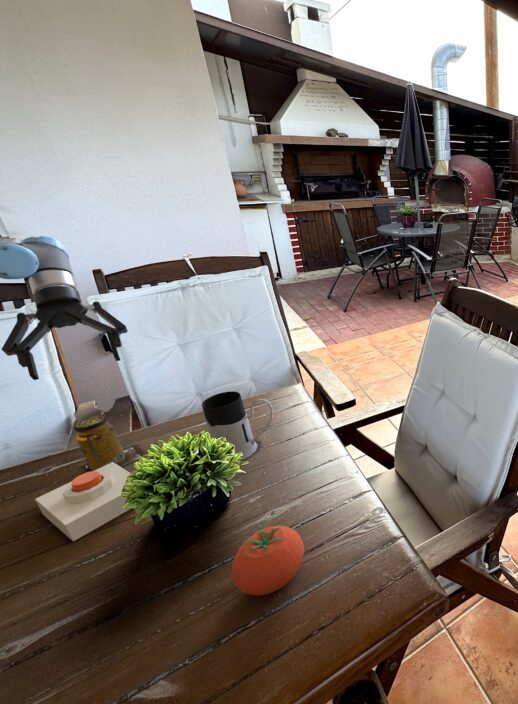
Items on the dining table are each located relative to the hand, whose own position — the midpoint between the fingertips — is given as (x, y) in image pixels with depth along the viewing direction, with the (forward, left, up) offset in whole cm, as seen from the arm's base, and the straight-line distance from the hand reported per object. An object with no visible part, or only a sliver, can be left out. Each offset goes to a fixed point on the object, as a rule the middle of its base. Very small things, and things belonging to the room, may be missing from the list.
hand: (77, 367), depth 93 cm
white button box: (+13, -23, -22) cm, 34 cm away
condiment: (+6, -8, -22) cm, 24 cm away
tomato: (+55, -46, -22) cm, 75 cm away
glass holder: (+36, -9, -22) cm, 43 cm away
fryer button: (+13, -23, -16) cm, 31 cm away
